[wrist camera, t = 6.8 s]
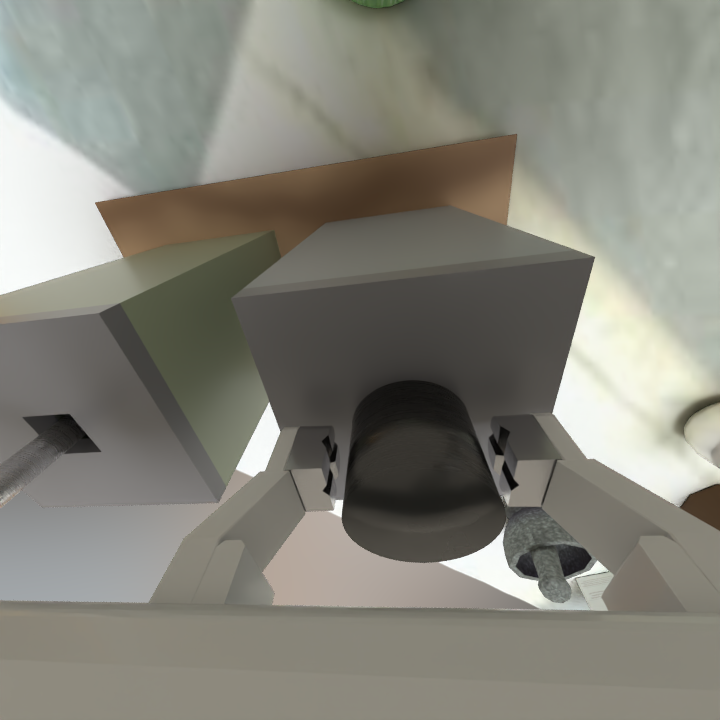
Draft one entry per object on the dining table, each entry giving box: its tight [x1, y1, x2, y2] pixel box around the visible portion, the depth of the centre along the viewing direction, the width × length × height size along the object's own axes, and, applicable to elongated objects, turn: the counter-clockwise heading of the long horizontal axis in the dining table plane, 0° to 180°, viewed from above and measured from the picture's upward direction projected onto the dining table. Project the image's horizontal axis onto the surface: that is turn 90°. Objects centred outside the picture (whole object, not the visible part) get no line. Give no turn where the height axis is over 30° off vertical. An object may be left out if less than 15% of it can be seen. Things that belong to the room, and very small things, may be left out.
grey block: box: [231, 205, 595, 500], centre depth 17 cm, size 9×9×16 cm
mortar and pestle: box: [503, 504, 597, 603], centre depth 35 cm, size 11×9×12 cm
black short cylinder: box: [342, 380, 506, 563], centre depth 15 cm, size 7×7×19 cm
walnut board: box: [95, 134, 517, 258], centre depth 25 cm, size 16×30×2 cm, turn 97°
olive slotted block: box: [0, 230, 281, 508], centre depth 18 cm, size 9×9×16 cm
